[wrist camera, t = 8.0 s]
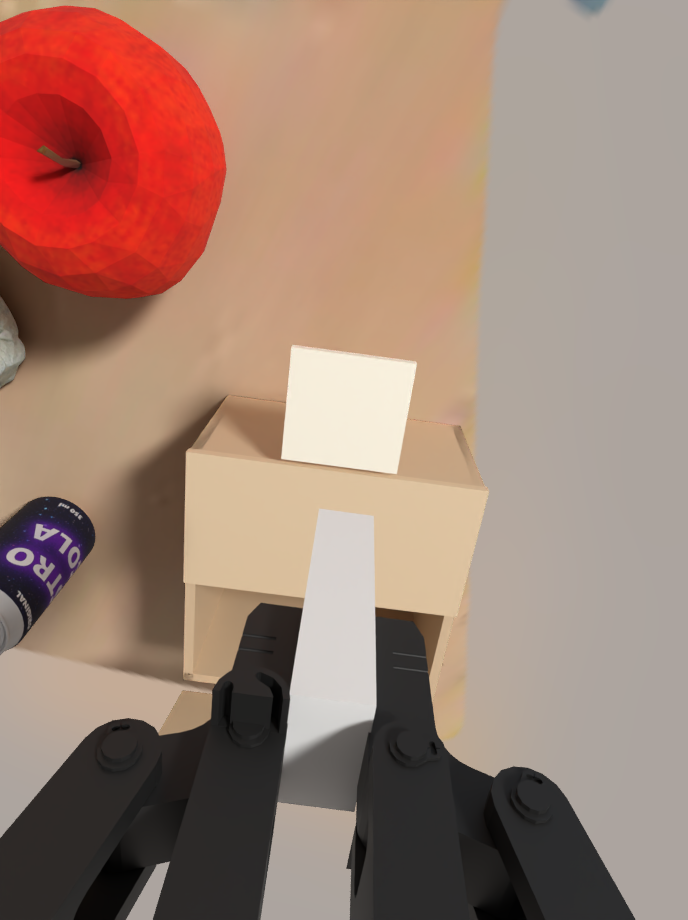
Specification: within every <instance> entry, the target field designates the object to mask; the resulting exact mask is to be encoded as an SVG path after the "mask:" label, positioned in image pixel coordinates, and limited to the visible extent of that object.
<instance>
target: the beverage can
mask: <svg viewBox="0 0 688 920" xmlns="http://www.w3.org/2000/svg"><path fill="white" fill-rule="evenodd" d="M94 543H95V530H94V527H93V524H92V522H91V520H90V519H89V517H88V516H87V515H86V514H85V512H84V511H83V510H81V509H80V508H79V507H78V506H76V505H75V504H73V503H71V502H69V501H67V500H65V499H61V498H57V497H41V498H37V499H34V500H32V501H31V502H29V503H28V504H27V505H25V506H24V507H23V508H22V509H21V510H20V511H19V512H18V513H17V514H16V515H14V516H13V517H12V518H11V519H10V520H9V521H8V522H7V523H6V524H4V525H3V526H2V527H1V528H0V655H1V654H2V653H3V652H4V651H6V650H9V649H11V648H13V647H14V646H16V645H17V644H18V643H19V642H20V641H21V640H22V639H23V638H24V636H25V635H26V634H27V632H28V631H29V630H30V629H31V627H32V626H33V625H34V623H35V622H36V621H37V620H38V618H39V617H40V616H41V614H42V613H43V612H44V611H45V609H46V608H47V607H48V605H49V604H50V603H51V602H52V600H53V599H54V598H55V596H56V595H57V594H58V593H59V591H60V590H61V589H62V587H63V586H64V585H65V584H66V582H67V581H68V580H69V579H70V577H71V576H72V575H73V573H74V572H75V571H76V570H77V568H78V567H79V566H80V564H81V563H82V562H83V561H84V559H85V558H86V557H87V555H88V554H89V553H90V551H91V550H92V548H93V546H94Z"/></svg>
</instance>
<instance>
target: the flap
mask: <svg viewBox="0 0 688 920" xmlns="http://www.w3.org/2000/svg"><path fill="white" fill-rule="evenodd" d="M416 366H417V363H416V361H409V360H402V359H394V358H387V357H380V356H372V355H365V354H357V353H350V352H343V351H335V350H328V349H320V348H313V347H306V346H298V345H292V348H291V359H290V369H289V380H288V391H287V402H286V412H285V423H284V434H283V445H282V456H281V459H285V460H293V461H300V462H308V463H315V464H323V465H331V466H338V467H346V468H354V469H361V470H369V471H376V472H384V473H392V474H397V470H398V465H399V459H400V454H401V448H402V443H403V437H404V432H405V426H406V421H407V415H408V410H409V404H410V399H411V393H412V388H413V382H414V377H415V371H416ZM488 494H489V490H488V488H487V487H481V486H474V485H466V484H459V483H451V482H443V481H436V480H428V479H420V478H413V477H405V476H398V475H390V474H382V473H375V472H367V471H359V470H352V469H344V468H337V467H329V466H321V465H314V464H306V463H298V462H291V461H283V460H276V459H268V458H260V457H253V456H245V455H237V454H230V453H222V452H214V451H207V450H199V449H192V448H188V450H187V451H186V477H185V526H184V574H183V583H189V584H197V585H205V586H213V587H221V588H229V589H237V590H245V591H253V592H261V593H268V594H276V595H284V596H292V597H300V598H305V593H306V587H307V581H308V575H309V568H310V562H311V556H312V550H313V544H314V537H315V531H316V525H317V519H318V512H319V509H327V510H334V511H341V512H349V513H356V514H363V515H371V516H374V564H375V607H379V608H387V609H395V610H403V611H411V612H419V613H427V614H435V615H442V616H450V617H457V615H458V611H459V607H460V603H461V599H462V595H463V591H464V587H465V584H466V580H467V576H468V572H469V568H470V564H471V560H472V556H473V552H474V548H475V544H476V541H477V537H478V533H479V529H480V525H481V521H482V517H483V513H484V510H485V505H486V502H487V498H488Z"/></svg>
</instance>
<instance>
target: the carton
mask: <svg viewBox="0 0 688 920" xmlns="http://www.w3.org/2000/svg"><path fill="white" fill-rule="evenodd" d="M285 412H286V403H283V402H276V401H268V400H261V399H253V398H246V397H238V396H231V395H228V396H227V397H226V398H225V400H224V401H223V403H222V404H221V406H220V407H219V408H218V410H217V411H216V413H215V414H214V416H213V417H212V418H211V420H210V421H209V423H208V424H207V426H206V427H205V428H204V430H203V431H202V433H201V434H200V436H199V437H198V438H197V440H196V441H195V443H194V444H193V446H192V447H191V448H192V449H199V450H207V451H214V452H222V453H230V454H237V455H245V456H253V457H260V458H268V459H276V460H283V461H291V462H298V463H306V464H314V465H321V466H329V467H337V468H344V469H352V470H359V471H367V472H375V473H382V474H390V475H398V476H405V477H413V478H420V479H428V480H436V481H443V482H451V483H459V484H466V485H474V486H481V487H485V486H484V483H483V481H482V478H481V476H480V473H479V471H478V468H477V466H476V464H475V461H474V459H473V456H472V454H471V451H470V449H469V446H468V444H467V442H466V439H465V437H464V434H463V432H462V429H461V427H460V426H456V425H449V424H441V423H434V422H426V421H419V420H411V419H407V421H406V426H405V432H404V437H403V443H402V448H401V454H400V459H399V465H398V470H397V474H392V473H384V472H376V471H369V470H361V469H354V468H346V467H338V466H331V465H323V464H315V463H308V462H300V461H293V460H285V459H281V456H282V445H283V434H284V423H285ZM304 600H305V598H300V597H292V596H284V595H276V594H268V593H261V592H253V591H245V590H237V589H229V588H221V587H213V586H205V585H197V584H189V583H185V620H184V665H183V680H189V681H197V682H205V683H213V684H216V683H217V681H218V680H219V679H220V678H221V677H222V676H224V675H225V674H226V673H228V672H229V671H231V670H232V668H233V665H234V661H235V658H236V654H237V651H238V648H239V644H240V640H241V637H242V634H243V630H244V627H245V623H246V620H247V616H248V615H249V614H250V613H251V612H252V611H253V610H254V609H255V608H256V607H257V606H258V605H259V604H260V603H267V604H275V605H282V606H290V607H298V608H303V606H304ZM375 616H376V617H384V618H391V619H399V620H406V621H413V622H414V623H415V625H416V626H417V628H418V629H419V631H420V632H421V634H422V635H423V637H424V641H425V649H426V659H427V665H428V674H429V681H430V689H431V697H432V703H433V699H434V695H435V692H436V688H437V684H438V680H439V676H440V672H441V668H442V664H443V660H444V656H445V652H446V648H447V644H448V641H449V637H450V633H451V629H452V625H453V621H454V617H450V616H442V615H435V614H427V613H419V612H411V611H403V610H395V609H387V608H379V607H375Z"/></svg>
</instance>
